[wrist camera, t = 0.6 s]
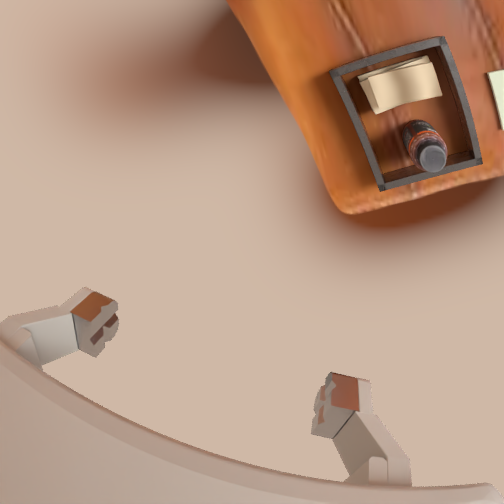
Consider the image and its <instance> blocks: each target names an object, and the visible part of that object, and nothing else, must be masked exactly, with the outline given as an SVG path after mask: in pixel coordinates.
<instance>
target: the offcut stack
mask: <svg viewBox="0 0 504 504" xmlns="http://www.w3.org/2000/svg"><path fill="white" fill-rule="evenodd" d="M358 78H359V82H360V84H361V86H362V88H363V90H364V92H365V94H366V96H367V98H368V101H369V103H370V105H371V108H372V110H373V111H374V112H375V114H378V113H381V112H384V111H386V110H389V109H391V108H394V107H396V106H399V105H402V104H405V103H410V102H414V101H419V100H423V99H428V98H433V97H437V96H442V92H441V89H440V85H439V82H438V79H437V76H436V73H435V70H434V67H433V64H432V62H430V60H429V58H428V56H427V55H424V56H420V57H416V58H413V59H409V60H406V61H402V62H399V63H395V64H392V65H389V66H385V67H382V68H379V69H376V70H373V71H370V72H367V73H364V74H361V75H358Z"/></svg>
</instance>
